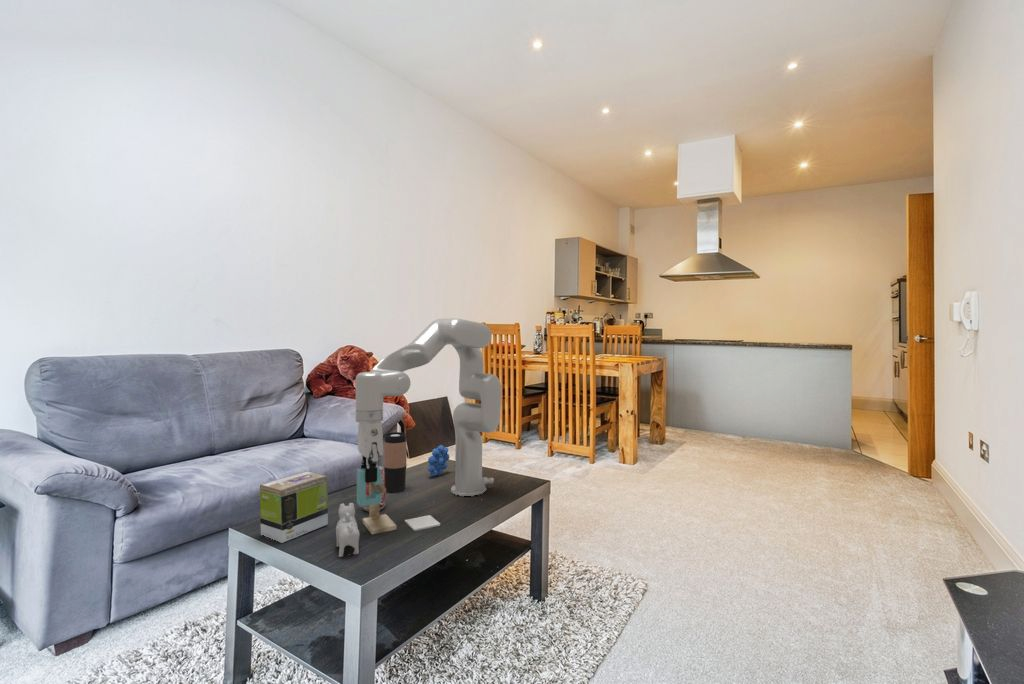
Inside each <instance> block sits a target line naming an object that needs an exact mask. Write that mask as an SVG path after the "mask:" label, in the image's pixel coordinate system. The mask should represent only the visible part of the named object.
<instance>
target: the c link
mask: <svg viewBox="0 0 1024 684" xmlns="http://www.w3.org/2000/svg"><path fill="white" fill-rule="evenodd" d="M378 466H379V465H377V481H376V482H373V483H374V484H375V485H379V484H381V469H380V468H379V467H378ZM378 503H381V493H380V492H379V491H378V490H377V491H372V495H367V496H366V482H365V468H363V469H361V468H357V469H356V504H357V506H359V507H361V508H362V506H367V505H373V504H378Z"/></svg>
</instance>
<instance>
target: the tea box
mask: <svg viewBox="0 0 1024 684" xmlns="http://www.w3.org/2000/svg"><path fill="white" fill-rule="evenodd" d="M328 495H329V494H328V476H327V475H323V474H318V473H315V472H310V471H307V470H306V471H303V472H302V471H301V472H299V473H295V474H291V475H288V476H285V477H282V478H278V479H275V480H272V481H267V482H264V483H261V484H259V506H260V507H259V509H260V511H259V516H260V519H259V520H260V523H259V524H260V536H262V535H264V536H266V537H269V538H271V539H270V540H272V539H273V540H272V541H274V540H276V541H275V542H277V541H278V542H277V543H280V544H283V543H285V542H288V541H291V540H293V539H296V538H298V537H301V536H303V535H305V534H308V533H310V532H312V531H315V530H317V529H320V528H322V527H326V526H327V525H329V512H328V511H329V507H328V506H329V505H328V503H329V501H328V500H329V499H328V498H329V497H328ZM266 537H265V538H266ZM269 538H268V539H269Z"/></svg>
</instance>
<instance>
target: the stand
mask: <svg viewBox="0 0 1024 684" xmlns="http://www.w3.org/2000/svg"><path fill="white" fill-rule="evenodd" d="M377 490H378V491H380V492H381V493H385V494H386V493H387V492H386V488H385V487H384V486H383V485H382V484H379V485H375V484H374V483H373V482H370V483H369V495H372V491H377ZM362 524H363V525H364V526H365V528H366V529H367V531H369V533H370V534H371V535H375V534H381V533H387V532H391V531H395V530H397V524H396V523H395V522H394V521H393V520H392V519H391V518H390V517H389V516H388V515H387V514H386V513H384V514H380V510H379V503H378V504H373V505H369V512H368V517H364V518H363V517H362Z"/></svg>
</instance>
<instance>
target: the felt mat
mask: <svg viewBox="0 0 1024 684" xmlns="http://www.w3.org/2000/svg"><path fill="white" fill-rule="evenodd" d="M404 523H405V524H406V525H407V526H409V528H410V529H412V531H414V532H417V531H421V530H425V529H431V528H434V527H440V526H441V523H440V522H439V521H438V520H436V519H435V518H434V517H433V516H432V515H430V514H428V515H424V516H418V517H414V518H408V519H404Z"/></svg>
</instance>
